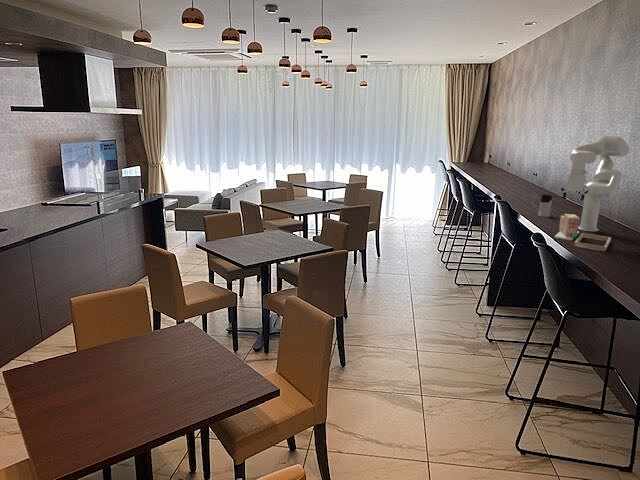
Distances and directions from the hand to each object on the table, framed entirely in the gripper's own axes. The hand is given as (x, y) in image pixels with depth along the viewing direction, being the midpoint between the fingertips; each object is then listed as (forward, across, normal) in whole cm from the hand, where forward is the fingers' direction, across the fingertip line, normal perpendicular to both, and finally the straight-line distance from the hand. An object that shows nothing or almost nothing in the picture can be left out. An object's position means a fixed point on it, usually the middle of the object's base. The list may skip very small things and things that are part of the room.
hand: (573, 199), depth 309 cm
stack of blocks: (+22, 0, 0) cm, 22 cm away
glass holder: (+24, +28, -57) cm, 68 cm away
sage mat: (+23, 0, +1) cm, 23 cm away
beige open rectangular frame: (+22, -16, +14) cm, 31 cm away
